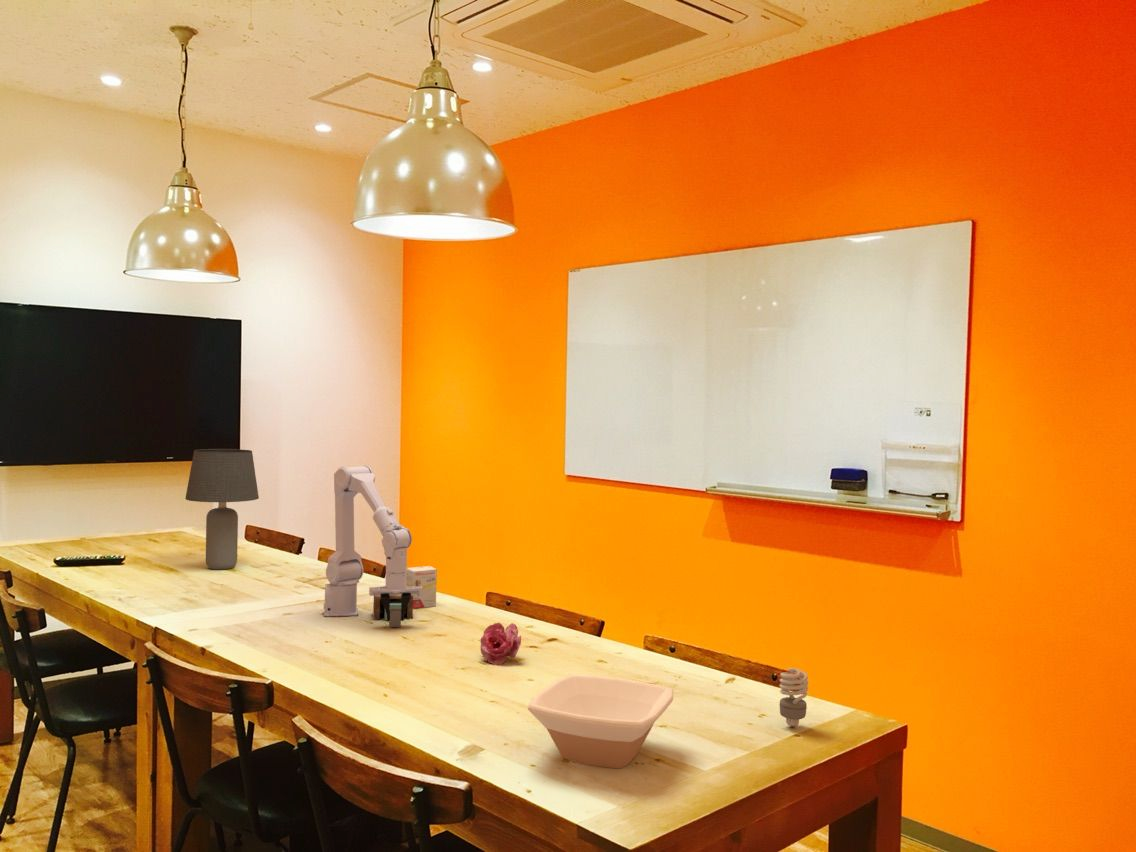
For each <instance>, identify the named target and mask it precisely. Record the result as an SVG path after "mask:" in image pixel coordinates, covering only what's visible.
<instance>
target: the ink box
mask: <svg viewBox="0 0 1136 852" xmlns="http://www.w3.org/2000/svg"><path fill="white" fill-rule="evenodd" d="M437 571H438V570H437V568H435V567H433V566H430V565H426V566H416V567H415V566H413V567H407V573H406V586H422V594H421V595H419V594H413V610H414V609H415V610H417V609H421V608H431V607H436V606H437V575H438V574H437Z"/></svg>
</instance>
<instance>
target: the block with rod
mask: <svg viewBox="0 0 1136 852" xmlns="http://www.w3.org/2000/svg"><path fill="white" fill-rule="evenodd" d="M383 618H384V621H387V614H386V610H385V607H384V614H383ZM387 622H389V625H388V626H389V628H401V627H402V621H401V601H391V602H390V621H387Z"/></svg>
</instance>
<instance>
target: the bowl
mask: <svg viewBox="0 0 1136 852" xmlns="http://www.w3.org/2000/svg"><path fill="white" fill-rule="evenodd" d="M673 700H674V690H673V688H671V687H668V686H663V685H659V684H654V683H650V682H644V681H637V680H633V679H632V680H631V679H626V678H618V677H609V676H599V675H592V674H590V675H589V674H578V673H577V674H575V673H574V674H572V673H571V674H567V675H565V676H562V677H560V678H557V679H555V680H554V681H553V682H551V683H550V684H548V685H547V686H546V687H544V688H543V689H541V690H540V691H539V692H538V693H536V694H535V695H534V696H533V697H532V698H531V699H530V702H529V703H528V706H527V711H529V712H530V713H531V715H532V716H534V717H535V719H536V720H538V722H539V723H540V724H541V725H542V726H543V727H544V728H545V729H546V730H547V732H548V734H549V735H550V737H551V739H552V741H553V743H554V745H555V746H556V748H557V751H558V752H559V754H560V756H561V758H562V759H565V760H567V761H571V762H574V763H578V764H582V765H587V766H594V767H599V768H600V767H601V768H606V769H607V768H608V769H609V768H610V769H623V768H624V767H626V766H628V765H629V764H630V763H631V762H632V761H633V760H634V758H635V757H636V756H637V755H638V754H639V753H640V750H641V749H642V747H643V745H644V743H645V741H646V739H647V737H648V735H649V734H650V732H651V730H652V729H653V726H654V724H655V723H656V721H657V720H659V718H660V717H661V716H662V714H664V712H665V711H666V710H667V709H668V707H669V706H670V705H671V703H672V702H673Z"/></svg>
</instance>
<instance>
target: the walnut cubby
mask: <svg viewBox="0 0 1136 852" xmlns="http://www.w3.org/2000/svg"><path fill="white" fill-rule="evenodd" d="M391 601H401V594H397V595H390V602H391ZM372 611H373V612H372V615H373V620H374V621H375V620H376V621H377V620H380V615H384V604H383V602H382V600H381V596H380V595H373V610H372ZM413 612H414V609H413V594H411V599H410V601H409V603H408V605H407V608H406V610H405V615H406V618H407V620H408V619H409V620H412V619H413V618H414V617H413V616H414V615H413V614H414V613H413Z"/></svg>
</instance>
